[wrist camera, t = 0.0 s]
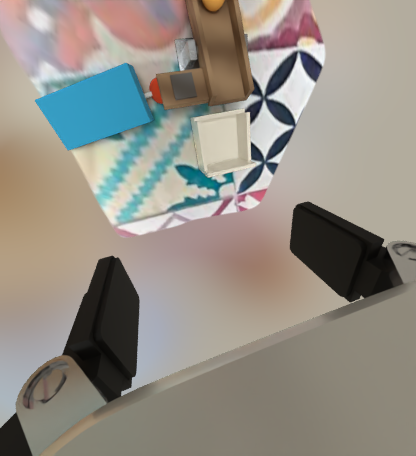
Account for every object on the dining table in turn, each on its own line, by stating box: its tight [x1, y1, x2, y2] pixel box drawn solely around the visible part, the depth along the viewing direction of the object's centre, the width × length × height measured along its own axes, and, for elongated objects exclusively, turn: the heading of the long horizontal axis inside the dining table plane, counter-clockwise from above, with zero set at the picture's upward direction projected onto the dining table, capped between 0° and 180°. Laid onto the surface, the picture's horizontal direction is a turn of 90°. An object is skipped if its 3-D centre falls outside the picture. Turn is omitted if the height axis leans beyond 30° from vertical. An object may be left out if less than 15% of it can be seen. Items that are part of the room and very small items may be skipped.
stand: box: [175, 34, 248, 71], centre depth 28 cm, size 5×10×6 cm, turn 99°
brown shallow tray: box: [156, 0, 254, 110], centre depth 25 cm, size 14×12×5 cm
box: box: [190, 109, 256, 177], centre depth 34 cm, size 9×9×7 cm
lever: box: [35, 63, 163, 150], centre depth 30 cm, size 7×7×18 cm
